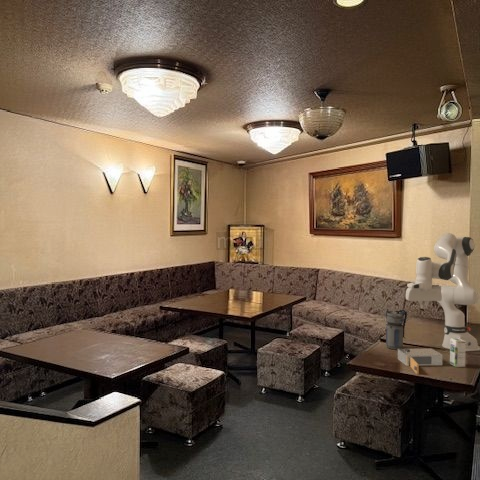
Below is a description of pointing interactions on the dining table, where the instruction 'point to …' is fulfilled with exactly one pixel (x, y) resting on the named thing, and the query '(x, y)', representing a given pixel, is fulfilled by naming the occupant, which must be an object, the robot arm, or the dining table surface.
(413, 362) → the side door
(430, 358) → the grey box
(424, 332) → the dining table surface
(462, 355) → the syrup box
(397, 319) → the beverage bottle
